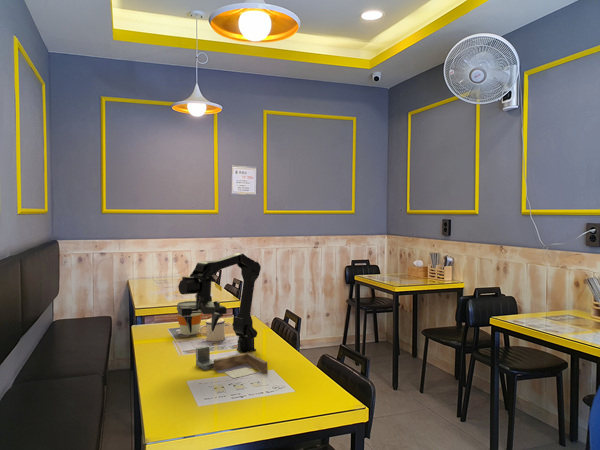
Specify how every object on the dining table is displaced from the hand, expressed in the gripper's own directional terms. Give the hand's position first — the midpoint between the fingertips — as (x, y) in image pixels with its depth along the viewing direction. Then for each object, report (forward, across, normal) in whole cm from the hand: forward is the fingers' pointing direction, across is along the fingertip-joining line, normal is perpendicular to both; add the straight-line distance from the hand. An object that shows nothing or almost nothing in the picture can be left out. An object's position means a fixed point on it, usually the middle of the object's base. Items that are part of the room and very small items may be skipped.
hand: (201, 331), depth 186 cm
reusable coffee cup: (+11, +12, +51) cm, 53 cm away
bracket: (+13, +2, -3) cm, 14 cm away
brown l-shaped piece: (+13, +11, -16) cm, 23 cm away
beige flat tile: (+13, +10, -18) cm, 24 cm away
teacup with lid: (+11, +18, +32) cm, 38 cm away
